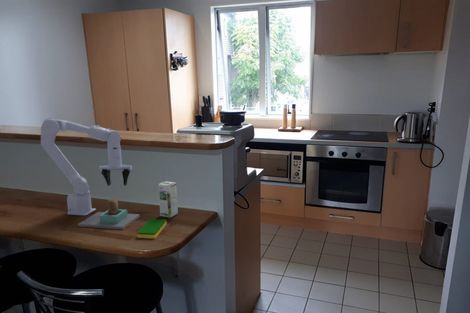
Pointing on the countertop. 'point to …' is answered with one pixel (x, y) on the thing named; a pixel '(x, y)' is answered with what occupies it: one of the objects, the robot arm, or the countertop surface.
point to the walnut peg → (113, 207)
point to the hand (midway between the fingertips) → (117, 185)
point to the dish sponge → (152, 228)
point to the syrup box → (168, 199)
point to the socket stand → (109, 220)
